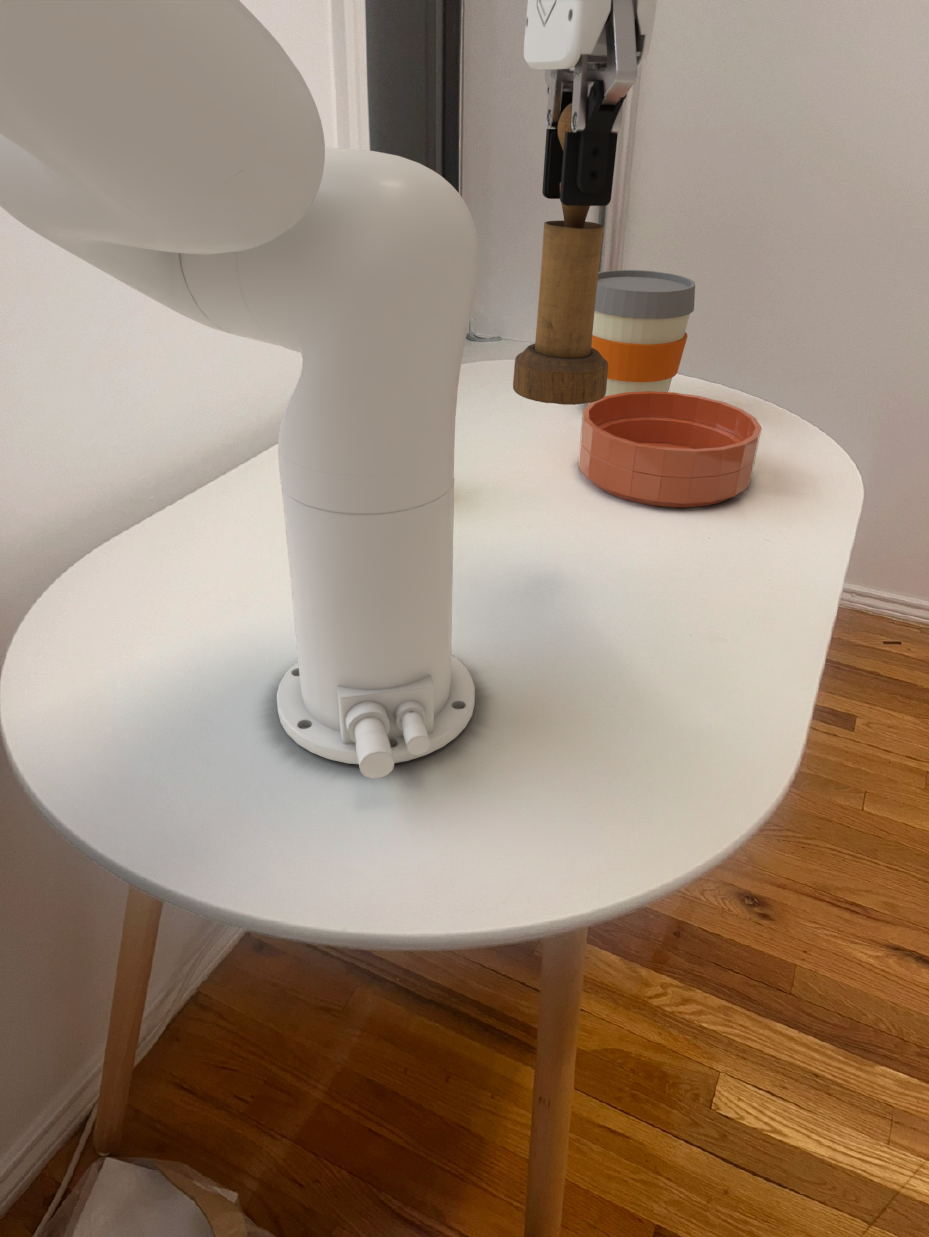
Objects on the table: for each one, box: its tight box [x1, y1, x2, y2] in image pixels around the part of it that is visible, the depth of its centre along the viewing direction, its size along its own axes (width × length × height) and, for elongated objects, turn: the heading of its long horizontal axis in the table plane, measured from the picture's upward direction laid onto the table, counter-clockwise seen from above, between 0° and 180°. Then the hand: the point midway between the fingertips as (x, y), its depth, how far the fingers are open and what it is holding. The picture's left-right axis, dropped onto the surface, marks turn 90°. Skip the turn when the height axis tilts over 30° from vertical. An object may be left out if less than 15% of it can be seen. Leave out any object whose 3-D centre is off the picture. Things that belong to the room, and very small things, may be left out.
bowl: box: [577, 391, 763, 508], centre depth 89 cm, size 17×17×6 cm
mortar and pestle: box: [512, 103, 608, 406], centre depth 59 cm, size 7×6×18 cm
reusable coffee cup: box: [591, 269, 696, 397], centre depth 104 cm, size 13×13×15 cm
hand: (575, 198), depth 57 cm, fingers closed on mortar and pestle, 2 cm apart
